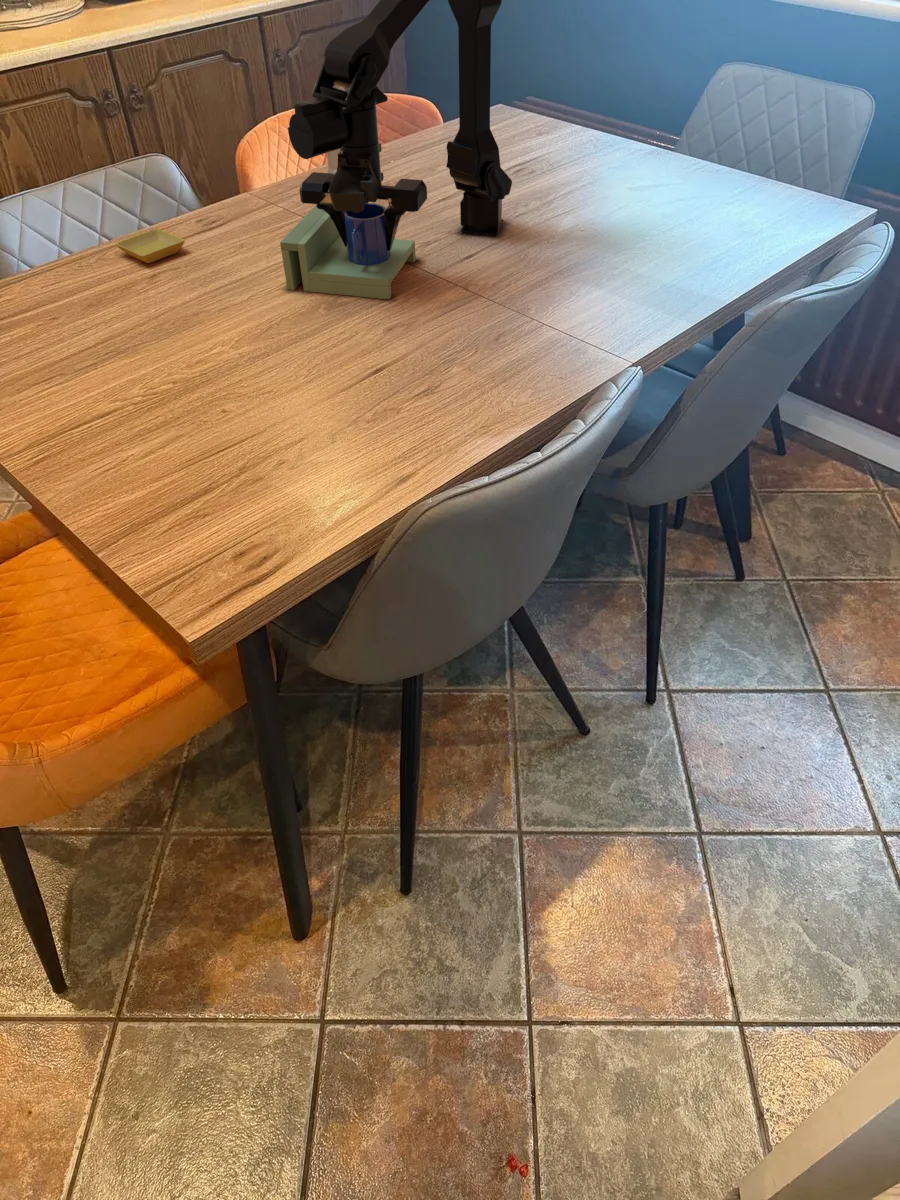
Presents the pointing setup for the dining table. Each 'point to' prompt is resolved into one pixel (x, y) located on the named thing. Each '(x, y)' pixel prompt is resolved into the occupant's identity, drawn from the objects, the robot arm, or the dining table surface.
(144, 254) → the yellow shallow square dish
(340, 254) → the shelf
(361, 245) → the mug
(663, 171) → the dining table surface
